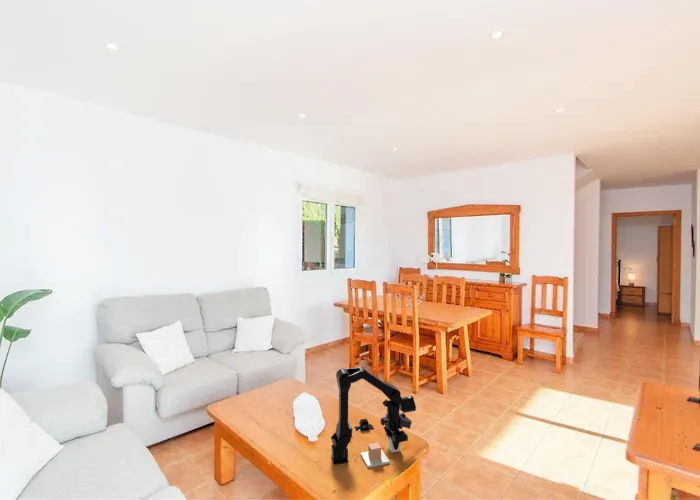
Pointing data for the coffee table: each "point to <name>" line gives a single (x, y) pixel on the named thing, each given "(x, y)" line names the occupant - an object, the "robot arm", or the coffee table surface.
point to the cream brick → (391, 447)
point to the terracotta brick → (374, 451)
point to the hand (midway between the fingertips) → (394, 446)
